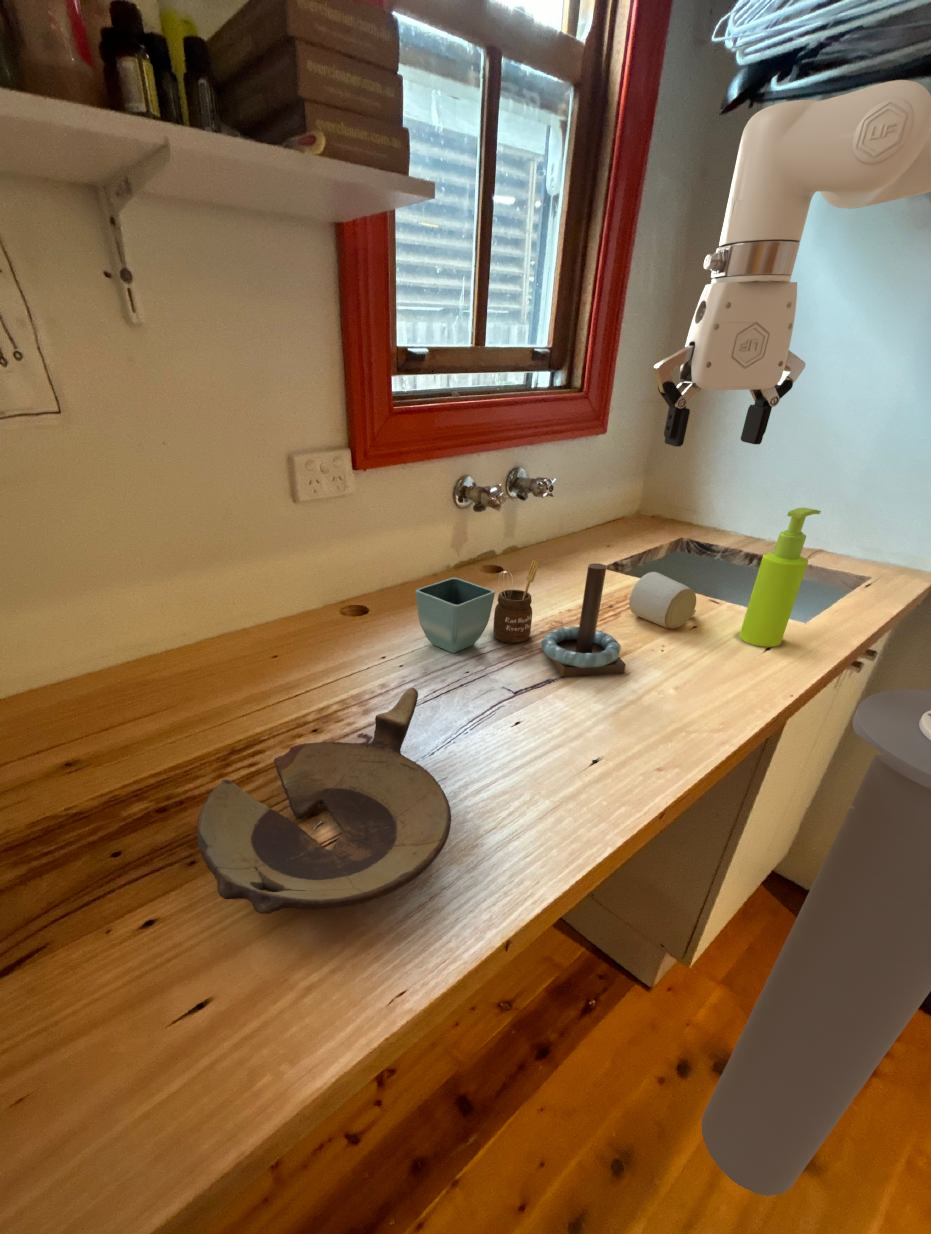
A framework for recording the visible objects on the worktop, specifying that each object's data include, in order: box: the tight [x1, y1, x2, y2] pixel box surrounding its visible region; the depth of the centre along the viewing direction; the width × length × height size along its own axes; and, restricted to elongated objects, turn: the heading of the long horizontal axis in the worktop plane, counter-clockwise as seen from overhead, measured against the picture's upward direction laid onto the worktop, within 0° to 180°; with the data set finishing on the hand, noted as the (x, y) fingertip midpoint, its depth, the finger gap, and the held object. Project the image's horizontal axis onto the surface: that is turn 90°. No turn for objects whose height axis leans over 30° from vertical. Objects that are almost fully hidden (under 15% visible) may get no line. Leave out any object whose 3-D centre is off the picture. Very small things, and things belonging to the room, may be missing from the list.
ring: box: [540, 626, 621, 668], centre depth 89 cm, size 11×11×2 cm
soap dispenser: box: [738, 507, 822, 648], centre depth 91 cm, size 6×7×20 cm
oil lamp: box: [196, 687, 452, 915], centre depth 57 cm, size 22×30×8 cm
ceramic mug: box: [628, 571, 697, 629], centre depth 101 cm, size 11×8×8 cm
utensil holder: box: [492, 559, 540, 644], centre depth 95 cm, size 6×6×12 cm
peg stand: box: [549, 562, 626, 678], centre depth 87 cm, size 9×9×14 cm
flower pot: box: [415, 577, 496, 654], centre depth 93 cm, size 9×9×9 cm
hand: (711, 443), depth 72 cm, fingers open, 9 cm apart
